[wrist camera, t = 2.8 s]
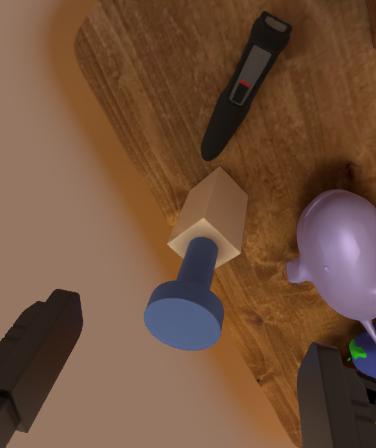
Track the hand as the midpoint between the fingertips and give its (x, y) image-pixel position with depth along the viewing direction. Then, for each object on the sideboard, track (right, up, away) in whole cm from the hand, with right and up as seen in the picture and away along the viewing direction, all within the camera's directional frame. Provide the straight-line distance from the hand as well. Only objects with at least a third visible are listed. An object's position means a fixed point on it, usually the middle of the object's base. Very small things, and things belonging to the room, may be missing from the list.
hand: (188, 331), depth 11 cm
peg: (+2, +1, +23) cm, 23 cm away
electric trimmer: (+6, +18, +25) cm, 32 cm away
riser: (+4, +8, +33) cm, 34 cm away
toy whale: (+20, +1, +34) cm, 39 cm away
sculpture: (+30, -19, +45) cm, 57 cm away
